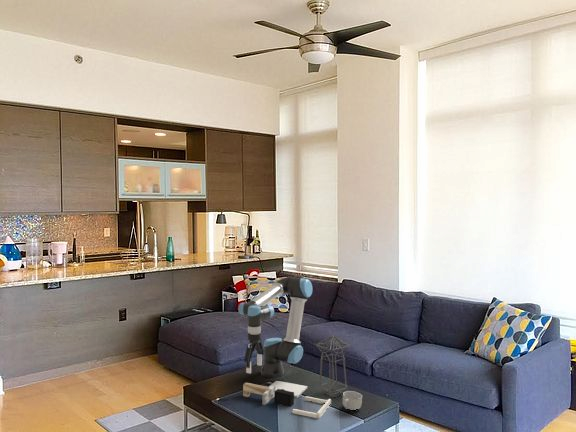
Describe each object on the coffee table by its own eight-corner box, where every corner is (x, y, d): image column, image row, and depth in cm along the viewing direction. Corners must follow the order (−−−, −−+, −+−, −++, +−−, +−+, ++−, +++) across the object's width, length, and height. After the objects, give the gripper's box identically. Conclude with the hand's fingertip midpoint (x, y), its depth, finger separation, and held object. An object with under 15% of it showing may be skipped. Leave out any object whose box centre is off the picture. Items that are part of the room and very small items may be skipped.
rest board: (276, 382, 304) (276, 380, 304) (307, 387, 296) (307, 386, 296) (264, 391, 290) (265, 389, 290) (297, 397, 281) (297, 395, 281)
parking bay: (305, 399, 279) (306, 394, 278) (331, 404, 272) (331, 399, 272) (292, 413, 261) (292, 407, 261) (319, 418, 255) (319, 413, 255)
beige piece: (250, 390, 290) (250, 379, 290) (275, 395, 283) (275, 384, 283) (238, 399, 277) (238, 387, 277) (264, 405, 271) (264, 392, 270)
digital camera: (295, 403, 273) (295, 391, 273) (290, 407, 268) (290, 394, 268) (278, 399, 278) (279, 387, 278) (274, 403, 273) (274, 391, 273)
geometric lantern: (332, 401, 276) (331, 341, 275) (314, 393, 289) (313, 335, 288) (352, 395, 285) (351, 336, 284) (334, 387, 298) (333, 330, 297)
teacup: (350, 402, 275) (350, 389, 275) (366, 408, 267) (366, 394, 267) (334, 410, 265) (334, 395, 265) (350, 416, 257) (350, 402, 257)
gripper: (258, 326, 292) (257, 361, 293) (238, 337, 269) (238, 375, 270) (269, 328, 289) (269, 363, 290) (250, 339, 266) (250, 377, 267)
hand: (254, 369), depth 280 cm, fingers open, 13 cm apart
